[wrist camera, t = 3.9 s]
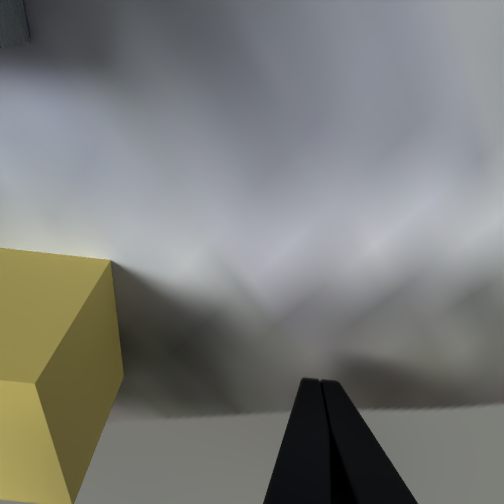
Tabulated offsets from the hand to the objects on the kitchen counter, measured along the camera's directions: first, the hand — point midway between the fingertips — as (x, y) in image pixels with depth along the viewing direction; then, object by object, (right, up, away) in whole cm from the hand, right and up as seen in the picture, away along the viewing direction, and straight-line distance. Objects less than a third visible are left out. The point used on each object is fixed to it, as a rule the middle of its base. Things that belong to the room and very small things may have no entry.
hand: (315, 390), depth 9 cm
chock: (-7, +2, +1) cm, 7 cm away
